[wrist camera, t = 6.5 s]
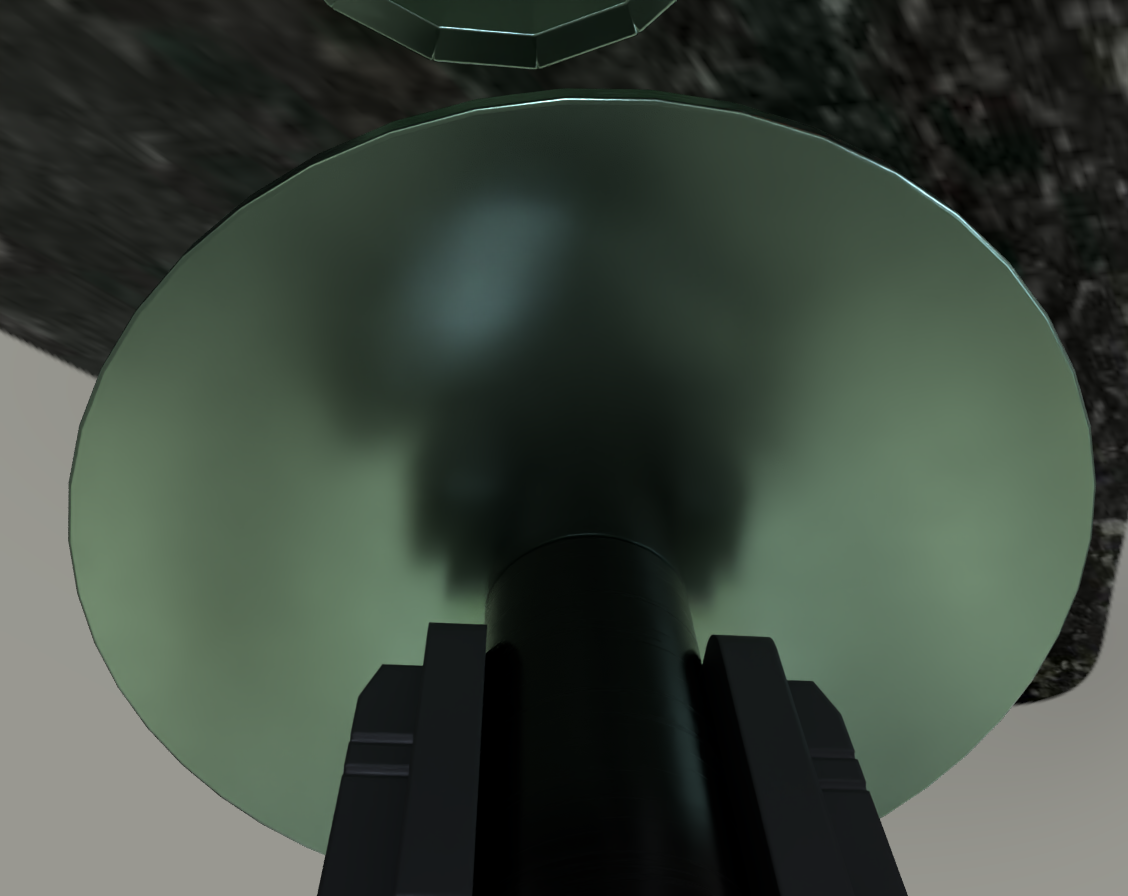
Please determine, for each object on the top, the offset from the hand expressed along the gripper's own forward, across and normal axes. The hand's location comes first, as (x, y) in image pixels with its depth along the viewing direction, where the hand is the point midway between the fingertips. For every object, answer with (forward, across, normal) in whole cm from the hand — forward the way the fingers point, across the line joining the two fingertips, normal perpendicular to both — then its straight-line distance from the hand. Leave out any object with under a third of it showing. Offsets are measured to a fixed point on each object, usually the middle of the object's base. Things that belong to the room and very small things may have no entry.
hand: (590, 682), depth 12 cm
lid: (+2, 0, 0) cm, 2 cm away
